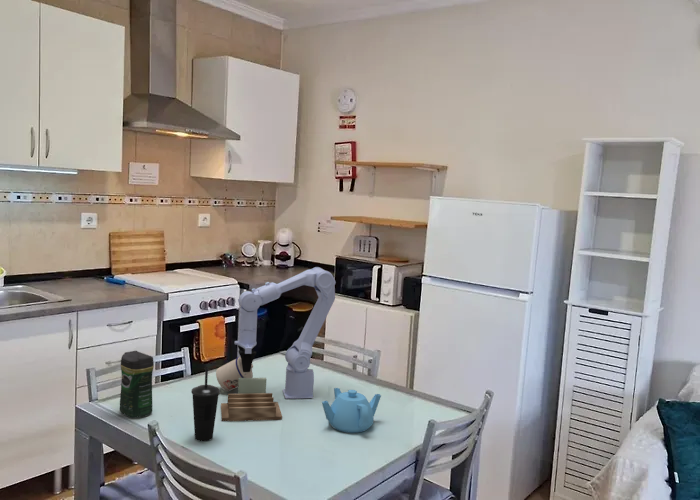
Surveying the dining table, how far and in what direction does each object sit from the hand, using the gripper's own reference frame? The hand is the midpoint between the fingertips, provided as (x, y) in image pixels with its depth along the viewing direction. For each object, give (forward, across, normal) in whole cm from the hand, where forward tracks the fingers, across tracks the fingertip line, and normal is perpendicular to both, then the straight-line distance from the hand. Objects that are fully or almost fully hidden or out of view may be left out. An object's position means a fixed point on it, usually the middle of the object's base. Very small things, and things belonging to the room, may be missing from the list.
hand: (245, 369), depth 196 cm
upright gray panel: (+10, 0, +2) cm, 10 cm away
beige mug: (+7, -9, -6) cm, 13 cm away
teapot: (+10, +23, +30) cm, 40 cm away
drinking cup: (+10, +30, -13) cm, 34 cm away
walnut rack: (+10, +12, +1) cm, 16 cm away
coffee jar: (+10, +11, -33) cm, 36 cm away
